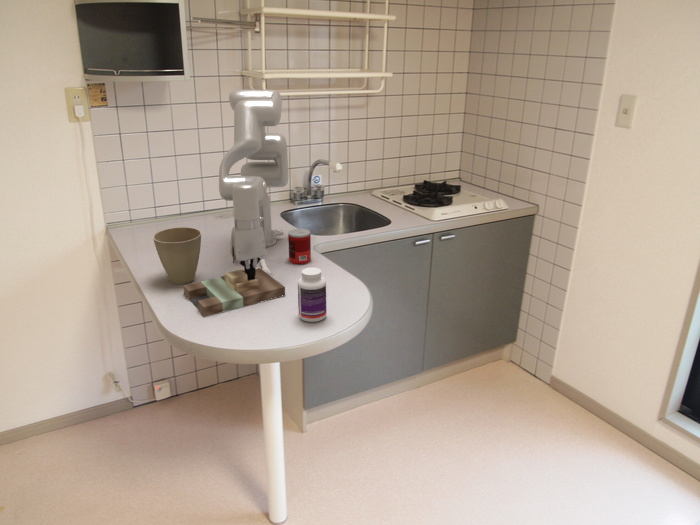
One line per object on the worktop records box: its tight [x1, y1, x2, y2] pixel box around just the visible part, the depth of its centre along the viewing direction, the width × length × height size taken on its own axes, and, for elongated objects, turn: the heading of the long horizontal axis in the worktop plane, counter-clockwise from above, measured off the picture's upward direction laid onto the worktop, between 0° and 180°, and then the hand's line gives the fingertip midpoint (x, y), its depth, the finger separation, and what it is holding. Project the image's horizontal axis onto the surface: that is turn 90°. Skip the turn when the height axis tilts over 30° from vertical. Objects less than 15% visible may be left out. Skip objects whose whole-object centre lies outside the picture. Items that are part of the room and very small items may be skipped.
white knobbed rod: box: [259, 258, 272, 276], centre depth 204 cm, size 28×4×3 cm, turn 19°
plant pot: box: [152, 226, 202, 285], centre depth 185 cm, size 15×15×16 cm
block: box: [225, 269, 248, 290], centre depth 177 cm, size 5×5×4 cm
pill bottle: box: [297, 267, 327, 323], centre depth 162 cm, size 8×8×14 cm
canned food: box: [287, 228, 312, 265], centre depth 203 cm, size 8×8×11 cm
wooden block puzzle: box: [182, 267, 286, 317], centre depth 177 cm, size 26×18×6 cm
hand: (250, 278), depth 179 cm, fingers closed
